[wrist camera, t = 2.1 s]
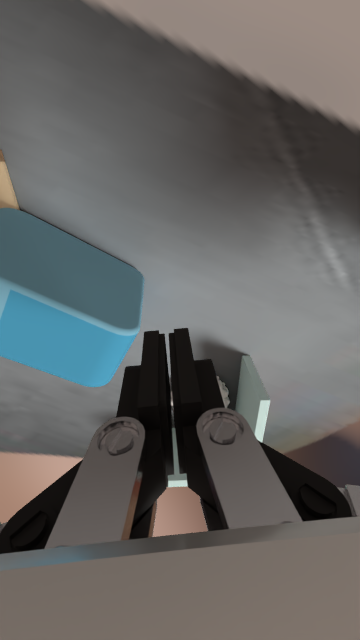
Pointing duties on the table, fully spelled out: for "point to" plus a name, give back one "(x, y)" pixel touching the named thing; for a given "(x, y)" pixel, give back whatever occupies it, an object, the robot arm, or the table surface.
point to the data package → (64, 302)
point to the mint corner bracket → (248, 404)
